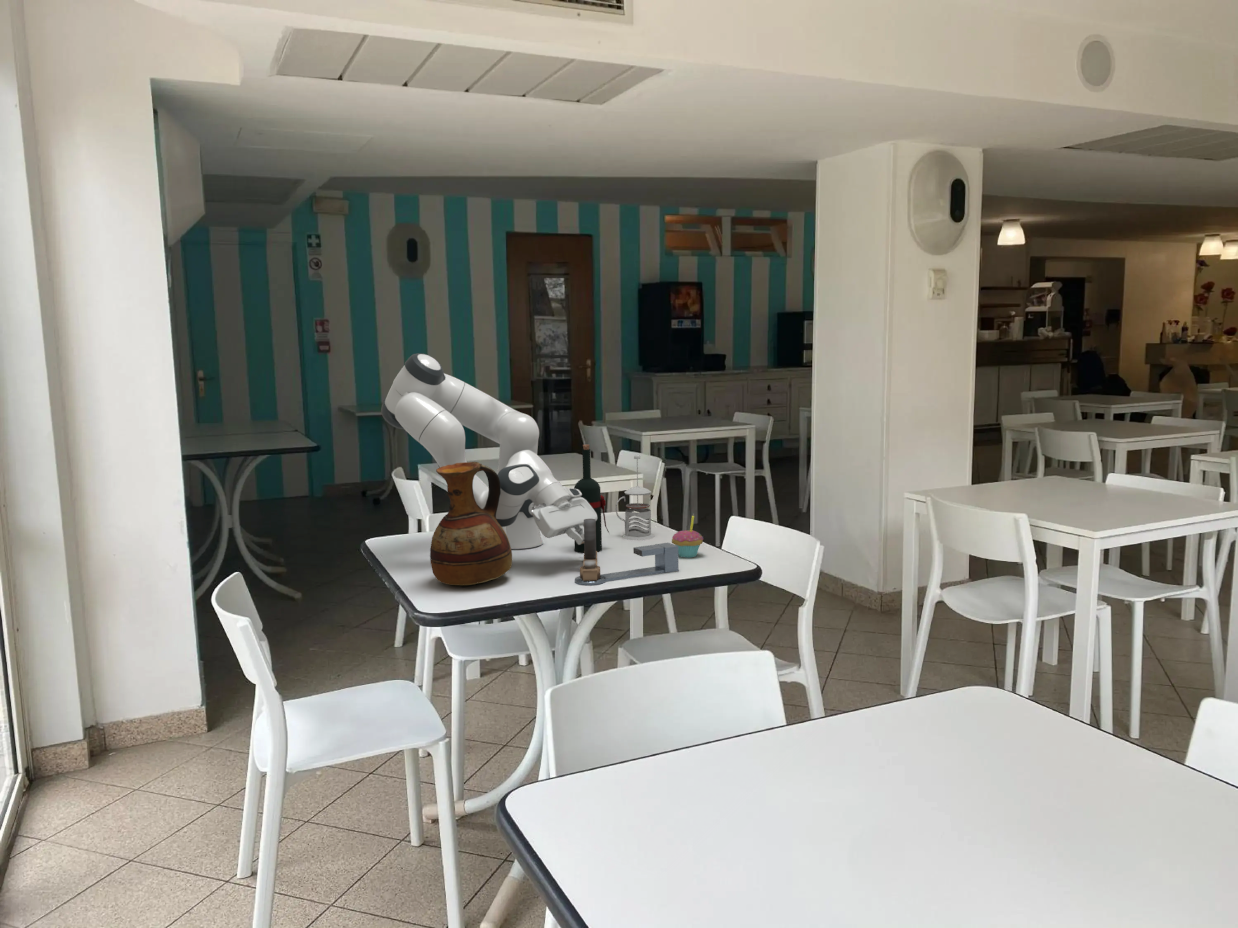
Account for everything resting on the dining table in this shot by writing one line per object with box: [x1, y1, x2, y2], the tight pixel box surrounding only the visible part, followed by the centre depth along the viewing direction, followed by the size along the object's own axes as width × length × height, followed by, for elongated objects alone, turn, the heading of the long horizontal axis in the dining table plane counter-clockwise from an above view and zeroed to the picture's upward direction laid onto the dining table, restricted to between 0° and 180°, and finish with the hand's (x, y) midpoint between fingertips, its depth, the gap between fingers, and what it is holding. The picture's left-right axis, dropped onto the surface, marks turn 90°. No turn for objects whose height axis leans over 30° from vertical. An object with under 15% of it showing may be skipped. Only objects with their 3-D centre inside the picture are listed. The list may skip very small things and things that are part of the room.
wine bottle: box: [573, 444, 610, 554], centre depth 262 cm, size 8×10×30 cm
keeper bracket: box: [574, 542, 679, 586], centre depth 234 cm, size 28×8×6 cm, turn 118°
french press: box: [615, 454, 655, 541], centre depth 279 cm, size 10×12×25 cm
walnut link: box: [579, 519, 601, 581], centre depth 236 cm, size 21×5×12 cm, turn 1°
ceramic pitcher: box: [429, 461, 513, 586], centre depth 230 cm, size 20×20×30 cm
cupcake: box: [671, 513, 704, 559], centre depth 254 cm, size 9×8×12 cm
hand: (584, 542), depth 240 cm, fingers closed
